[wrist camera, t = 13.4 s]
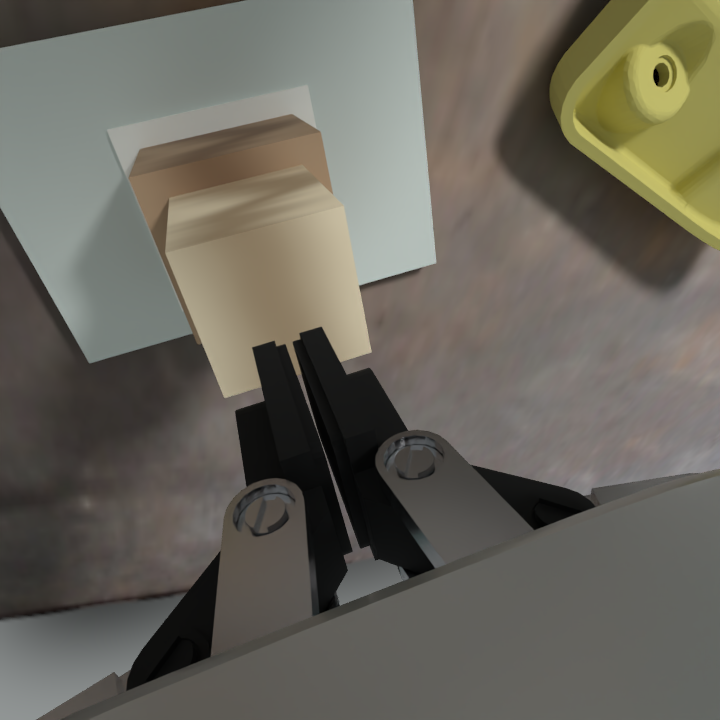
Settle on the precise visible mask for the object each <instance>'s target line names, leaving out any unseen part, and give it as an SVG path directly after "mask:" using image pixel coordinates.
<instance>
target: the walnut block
mask: <svg viewBox="0 0 720 720" xmlns="http://www.w3.org/2000/svg"><path fill="white" fill-rule="evenodd" d="M299 165H303V166H304V167H305V168H306V169H307V170H308V171H309V172H310V173H311V174H312V175H313V176H314V177H315V178H316V179H317V180H318V181H319V182H320V183H321V184H322V185H323V186H324V187H325V188H326V189H327V190H329V191H330V192H331V193H332V194H333V191H332V186H331V181H330V176H329V171H328V166H327V161H326V155H325V150H324V145H323V140H322V135H321V132H320V131H319V130H317V129H316V128H314V127H312V126H311V125H309V124H308V123H306V122H304V121H303V120H301V119H300V118H298V117H296V116H295V115H293V114H289V115H285V116H280V117H276V118H272V119H267V120H263V121H259V122H254V123H250V124H246V125H241V126H237V127H233V128H228V129H224V130H220V131H216V132H211V133H207V134H203V135H198V136H194V137H190V138H185V139H181V140H177V141H172V142H168V143H164V144H159V145H155V146H151V147H146V148H142V149H140V150H139V152H138V155H137V157H136V160H135V162H134V165H133V167H132V170H131V172H130V175H129V177H128V178H129V181H130V183H131V185H132V188H133V190H134V193H135V195H136V197H137V200H138V202H139V205H140V207H141V210H142V212H143V214H144V217H145V219H146V222H147V224H148V226H149V229H150V231H151V234H152V236H153V238H154V241H155V243H156V246H157V248H158V251H159V253H160V255H161V258H162V260H163V263H164V265H165V267H166V270H167V272H168V275H169V277H170V280H171V282H172V284H173V287H174V289H175V292H176V294H177V296H178V299H179V301H180V304H181V306H182V308H183V311H184V313H185V316H186V318H187V321H188V323H189V325H190V328H191V330H192V333H193V335H194V337H195V340H196V342H197V345H199V344H202V342H201V339H200V337H199V335H198V332H197V330H196V327H195V325H194V322H193V320H192V318H191V315H190V313H189V310H188V308H187V305H186V303H185V300H184V298H183V296H182V293H181V291H180V288H179V286H178V283H177V281H176V278H175V276H174V274H173V271H172V269H171V266H170V264H169V261H168V259H167V257H166V254H165V248H166V235H167V222H168V208H169V198H171V197H175V196H179V195H183V194H187V193H191V192H195V191H199V190H203V189H207V188H211V187H215V186H219V185H223V184H227V183H231V182H235V181H239V180H243V179H247V178H251V177H255V176H259V175H263V174H267V173H271V172H275V171H279V170H283V169H287V168H291V167H295V166H299Z"/></svg>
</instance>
